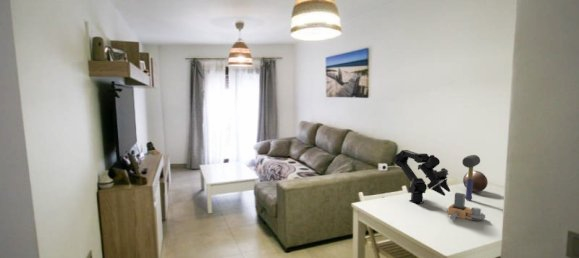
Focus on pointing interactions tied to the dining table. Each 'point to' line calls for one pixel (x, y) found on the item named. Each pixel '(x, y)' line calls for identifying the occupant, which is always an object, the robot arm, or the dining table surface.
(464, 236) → the dining table surface
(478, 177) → the wooden sphere
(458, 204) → the dark grey long block
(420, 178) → the robot arm
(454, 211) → the bracket head
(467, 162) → the rubber mallet
